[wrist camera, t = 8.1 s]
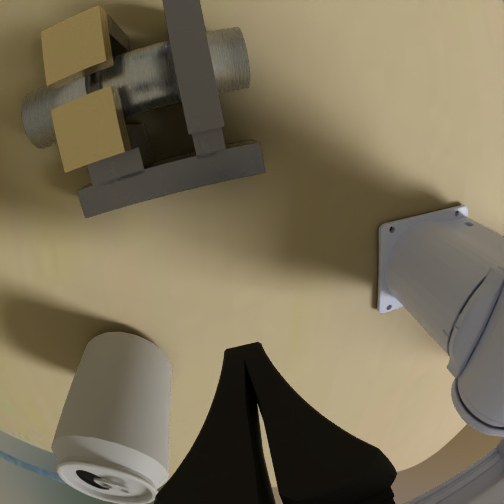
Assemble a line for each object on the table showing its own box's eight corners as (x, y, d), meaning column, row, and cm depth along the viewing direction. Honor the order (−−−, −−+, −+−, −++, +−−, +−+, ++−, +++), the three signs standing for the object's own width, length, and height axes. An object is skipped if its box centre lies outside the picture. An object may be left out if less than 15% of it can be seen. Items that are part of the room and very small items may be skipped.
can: (71, 331, 21) (21, 454, 10) (154, 317, 21) (133, 462, 11) (109, 393, 24) (89, 506, 13) (184, 384, 25) (187, 510, 14)
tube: (232, 36, 15) (239, 15, 11) (244, 93, 16) (254, 85, 13) (47, 93, 14) (16, 90, 11) (58, 147, 16) (28, 154, 12)
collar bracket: (225, 13, 14) (236, -28, 9) (256, 165, 18) (277, 182, 13) (69, 59, 13) (24, 41, 8) (101, 204, 18) (66, 236, 12)
